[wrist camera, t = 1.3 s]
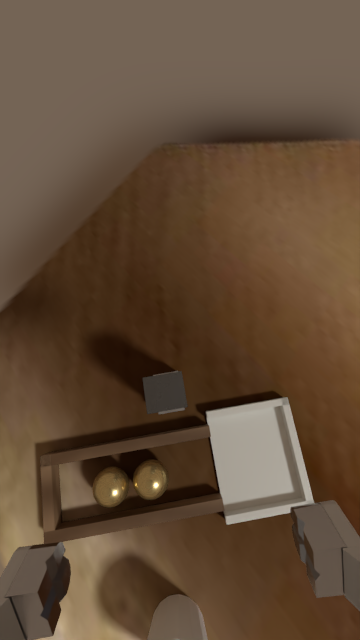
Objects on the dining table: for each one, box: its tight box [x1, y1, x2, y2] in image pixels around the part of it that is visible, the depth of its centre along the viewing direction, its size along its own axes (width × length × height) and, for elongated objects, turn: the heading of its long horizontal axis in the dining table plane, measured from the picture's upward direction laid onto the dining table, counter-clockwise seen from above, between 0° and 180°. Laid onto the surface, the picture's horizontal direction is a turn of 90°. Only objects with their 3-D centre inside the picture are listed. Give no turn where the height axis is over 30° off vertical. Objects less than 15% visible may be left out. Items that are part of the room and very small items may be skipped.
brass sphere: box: [92, 466, 129, 508], centre depth 32 cm, size 4×4×4 cm
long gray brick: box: [143, 371, 187, 414], centre depth 31 cm, size 4×4×11 cm
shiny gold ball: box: [133, 459, 169, 500], centre depth 33 cm, size 4×4×4 cm
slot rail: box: [40, 424, 225, 544], centre depth 33 cm, size 9×20×2 cm, turn 100°
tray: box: [205, 397, 314, 525], centre depth 34 cm, size 12×10×2 cm
